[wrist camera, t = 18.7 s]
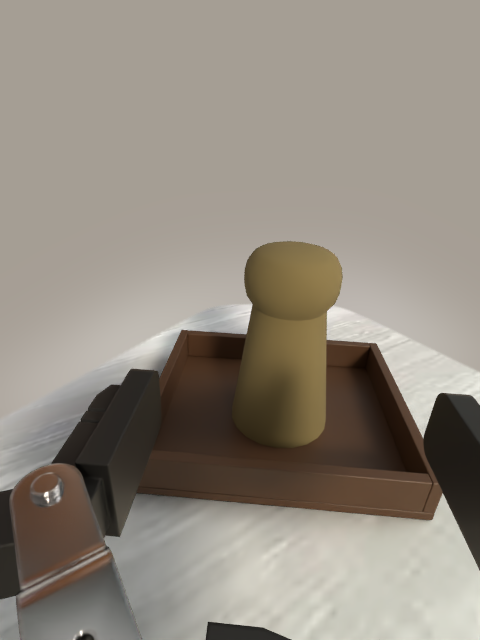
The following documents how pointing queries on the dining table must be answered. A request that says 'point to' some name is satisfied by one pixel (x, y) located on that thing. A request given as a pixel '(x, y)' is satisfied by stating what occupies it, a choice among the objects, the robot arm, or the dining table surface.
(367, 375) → the tray
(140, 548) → the dining table surface
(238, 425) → the cork
